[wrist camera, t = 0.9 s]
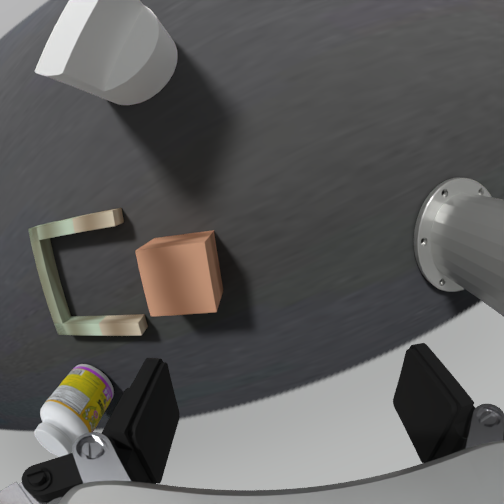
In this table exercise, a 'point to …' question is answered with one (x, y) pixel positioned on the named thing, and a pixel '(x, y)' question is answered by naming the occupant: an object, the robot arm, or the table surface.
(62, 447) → the supplement bottle
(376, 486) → the robot arm
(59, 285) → the walled lane
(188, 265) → the terracotta block
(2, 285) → the table surface
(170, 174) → the table surface
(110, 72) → the base with upright slab
